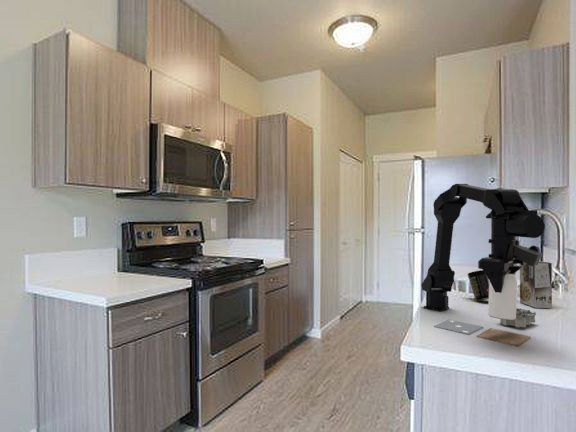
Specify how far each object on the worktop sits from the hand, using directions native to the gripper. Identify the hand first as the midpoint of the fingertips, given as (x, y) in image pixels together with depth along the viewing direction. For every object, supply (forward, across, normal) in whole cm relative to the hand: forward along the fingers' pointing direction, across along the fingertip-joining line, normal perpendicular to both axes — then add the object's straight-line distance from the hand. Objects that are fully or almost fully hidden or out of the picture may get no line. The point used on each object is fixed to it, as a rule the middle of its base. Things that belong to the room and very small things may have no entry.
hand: (503, 293), depth 99 cm
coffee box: (+13, +49, +5) cm, 51 cm away
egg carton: (+13, +17, -1) cm, 21 cm away
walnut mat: (+12, 0, 0) cm, 12 cm away
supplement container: (+13, +41, +21) cm, 48 cm away
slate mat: (+12, 0, +12) cm, 17 cm away
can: (+7, -1, 0) cm, 7 cm away
